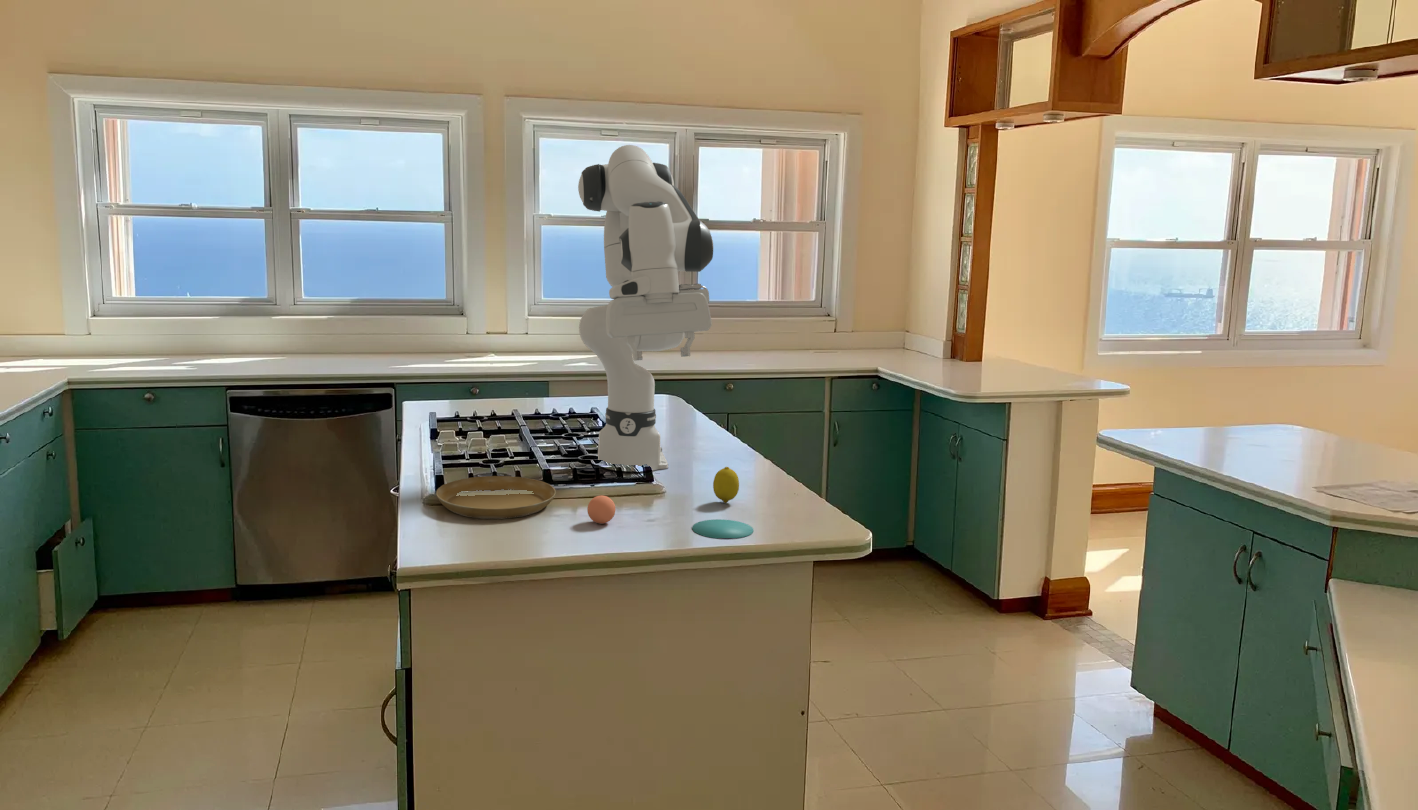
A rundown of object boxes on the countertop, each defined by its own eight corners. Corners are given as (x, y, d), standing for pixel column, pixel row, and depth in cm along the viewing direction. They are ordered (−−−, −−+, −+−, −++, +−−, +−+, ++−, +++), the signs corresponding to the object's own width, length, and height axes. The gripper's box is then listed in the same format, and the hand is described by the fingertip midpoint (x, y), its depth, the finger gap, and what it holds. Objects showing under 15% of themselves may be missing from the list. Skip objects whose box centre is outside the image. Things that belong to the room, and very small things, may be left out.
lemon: (735, 507, 217) (737, 470, 215) (710, 505, 218) (711, 468, 216) (740, 500, 222) (742, 465, 220) (715, 498, 223) (716, 462, 222)
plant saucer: (556, 523, 202) (556, 506, 201) (430, 524, 198) (430, 507, 197) (554, 490, 225) (554, 475, 225) (441, 490, 221) (441, 475, 221)
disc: (694, 518, 207) (694, 518, 207) (753, 522, 207) (753, 521, 207) (690, 537, 195) (690, 536, 195) (753, 540, 195) (753, 539, 195)
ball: (589, 518, 205) (590, 491, 204) (616, 519, 204) (617, 493, 203) (585, 526, 199) (585, 499, 198) (613, 527, 199) (613, 500, 198)
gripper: (703, 284, 202) (709, 354, 202) (600, 290, 196) (607, 362, 196) (712, 281, 195) (718, 353, 196) (607, 287, 190) (613, 362, 190)
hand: (662, 358), depth 196 cm, fingers open, 8 cm apart
